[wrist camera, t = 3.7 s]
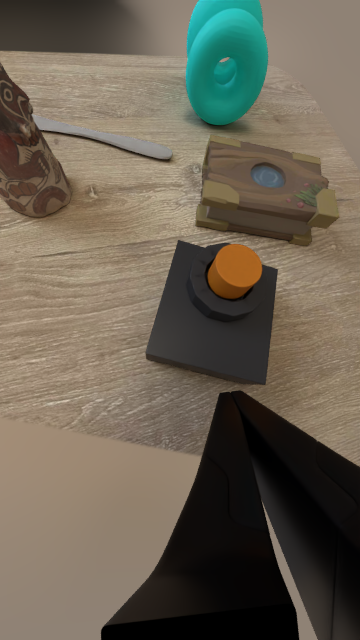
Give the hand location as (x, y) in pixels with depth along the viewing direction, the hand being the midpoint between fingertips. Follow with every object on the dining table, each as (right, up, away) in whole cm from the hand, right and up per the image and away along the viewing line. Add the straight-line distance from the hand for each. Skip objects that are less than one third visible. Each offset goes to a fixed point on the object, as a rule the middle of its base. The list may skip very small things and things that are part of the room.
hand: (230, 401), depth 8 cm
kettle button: (+2, +7, +9) cm, 12 cm away
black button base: (+1, +3, +14) cm, 14 cm away
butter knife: (-16, +27, +19) cm, 37 cm away
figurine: (-18, +18, +16) cm, 30 cm away
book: (+8, +19, +20) cm, 28 cm away
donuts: (+3, +36, +24) cm, 44 cm away
